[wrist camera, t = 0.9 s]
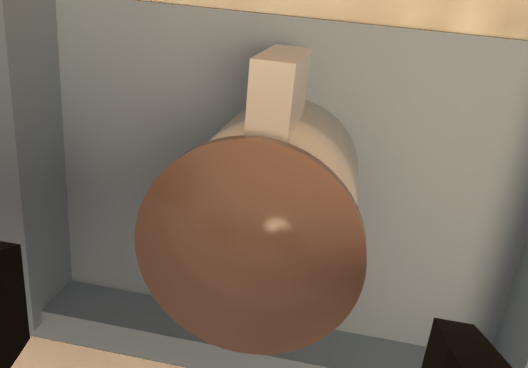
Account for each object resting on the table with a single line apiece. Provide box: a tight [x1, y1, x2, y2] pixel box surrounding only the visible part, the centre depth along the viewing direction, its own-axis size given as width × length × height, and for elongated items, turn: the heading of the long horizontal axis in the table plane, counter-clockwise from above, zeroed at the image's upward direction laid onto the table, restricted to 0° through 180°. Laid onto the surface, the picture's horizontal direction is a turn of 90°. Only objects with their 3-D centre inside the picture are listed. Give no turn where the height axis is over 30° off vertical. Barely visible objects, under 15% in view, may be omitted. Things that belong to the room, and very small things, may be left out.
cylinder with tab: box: [134, 44, 367, 355], centre depth 14 cm, size 5×7×6 cm
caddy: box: [0, 0, 528, 368], centre depth 16 cm, size 18×13×3 cm
